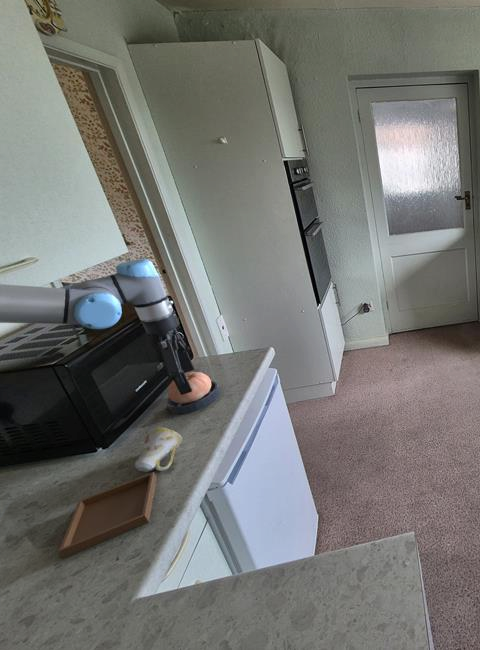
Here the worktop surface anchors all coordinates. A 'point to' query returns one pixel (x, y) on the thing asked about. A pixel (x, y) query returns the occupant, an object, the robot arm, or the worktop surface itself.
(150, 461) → the mug
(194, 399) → the pumpkin
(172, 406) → the dark blue ring
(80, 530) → the tray
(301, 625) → the worktop surface
